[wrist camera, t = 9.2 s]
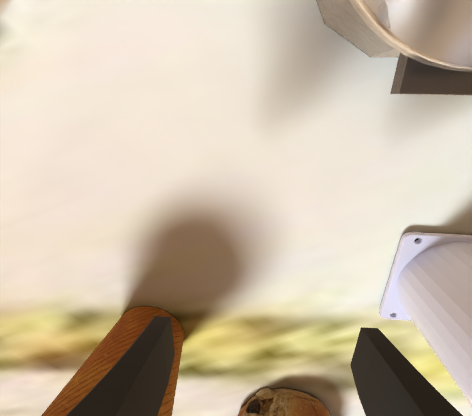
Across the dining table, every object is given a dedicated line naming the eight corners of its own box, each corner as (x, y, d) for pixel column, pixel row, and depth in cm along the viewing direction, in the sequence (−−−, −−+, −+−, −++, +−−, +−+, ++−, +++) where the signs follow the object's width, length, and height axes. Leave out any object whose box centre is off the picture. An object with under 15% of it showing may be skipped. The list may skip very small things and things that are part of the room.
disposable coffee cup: (184, 284, 22) (115, 465, 11) (211, 361, 26) (179, 555, 15) (86, 298, 24) (-60, 471, 13) (125, 368, 27) (36, 552, 16)
